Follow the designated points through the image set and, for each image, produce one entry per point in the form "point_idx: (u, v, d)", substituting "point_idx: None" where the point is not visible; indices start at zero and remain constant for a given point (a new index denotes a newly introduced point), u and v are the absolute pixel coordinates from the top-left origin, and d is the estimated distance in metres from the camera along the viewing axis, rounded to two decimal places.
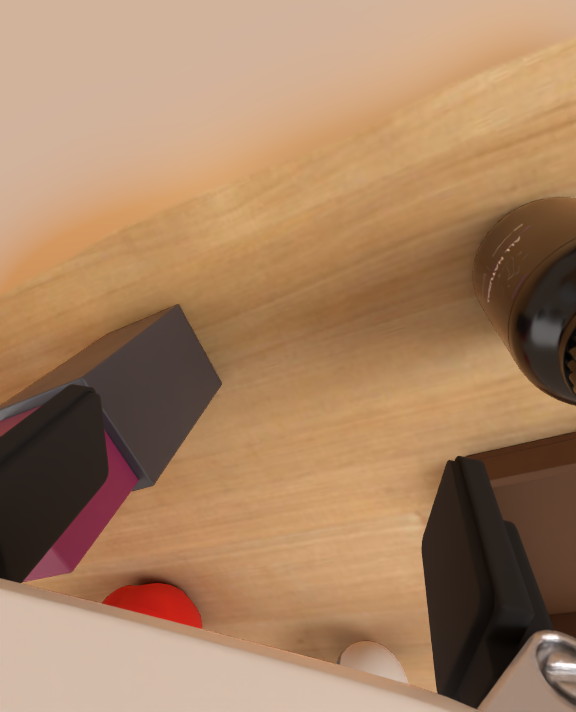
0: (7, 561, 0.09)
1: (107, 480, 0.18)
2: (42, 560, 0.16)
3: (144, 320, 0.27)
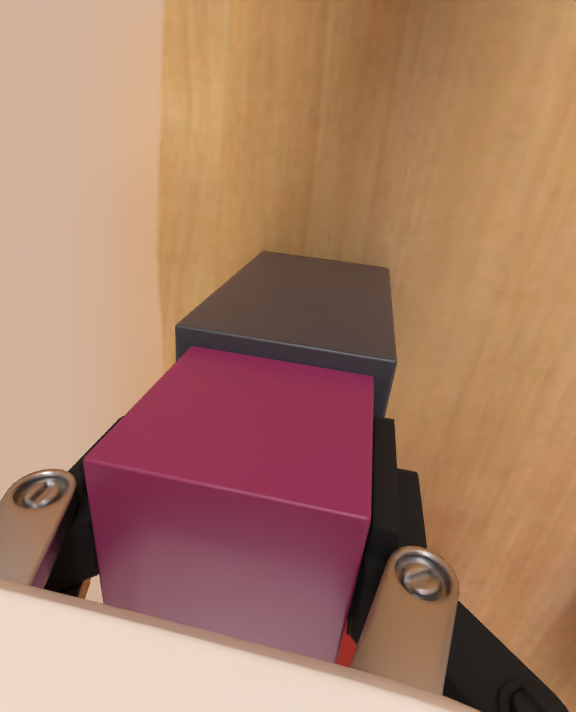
0: None
1: (319, 394, 0.10)
2: (313, 545, 0.07)
3: None
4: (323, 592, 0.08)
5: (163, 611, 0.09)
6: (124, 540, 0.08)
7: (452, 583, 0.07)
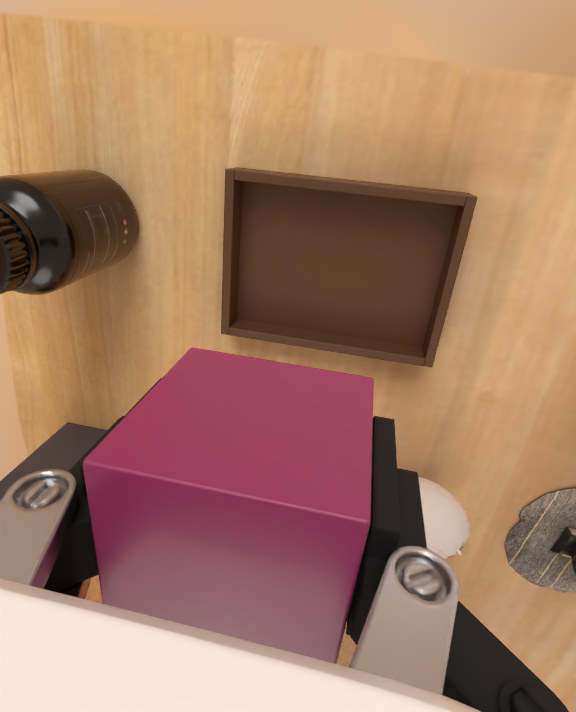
0: None
1: (318, 396, 0.10)
2: (312, 547, 0.07)
3: None
4: (323, 594, 0.08)
5: (163, 613, 0.09)
6: (123, 543, 0.08)
7: (452, 583, 0.07)
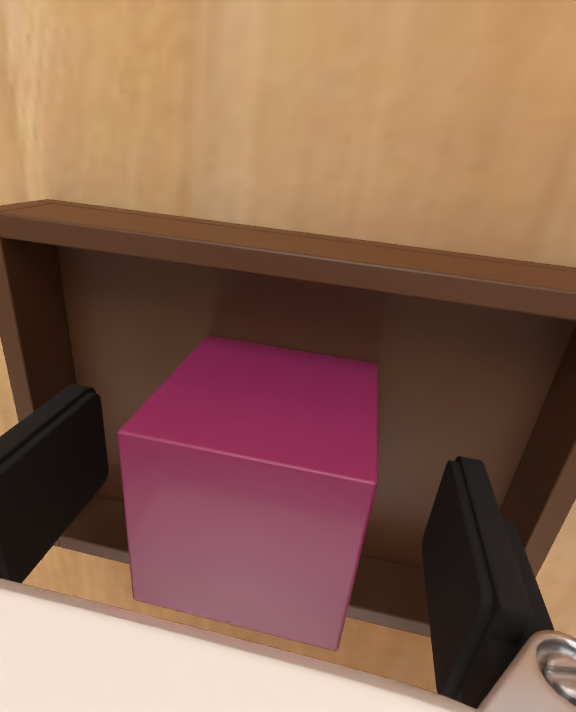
0: (7, 561, 0.09)
1: (327, 379, 0.11)
2: (325, 509, 0.08)
3: None
4: (334, 553, 0.09)
5: (186, 575, 0.10)
6: (152, 508, 0.09)
7: None
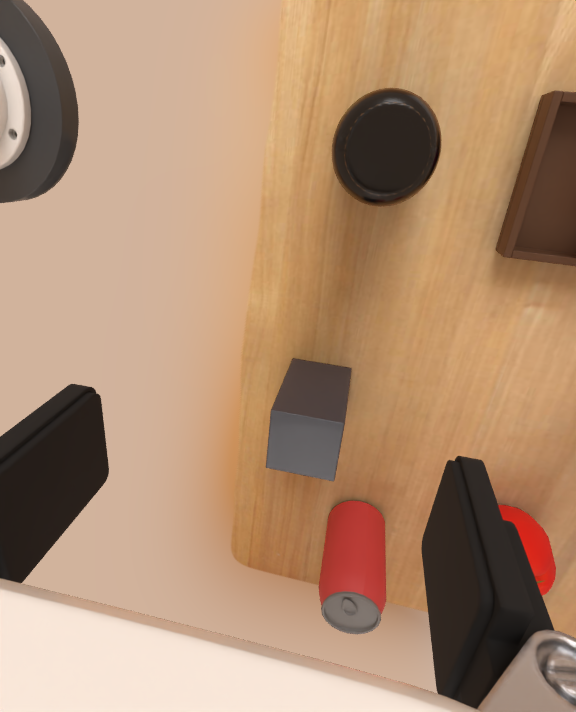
0: (7, 561, 0.09)
1: None
2: None
3: None
4: None
5: None
6: None
7: None
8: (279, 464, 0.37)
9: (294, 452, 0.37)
